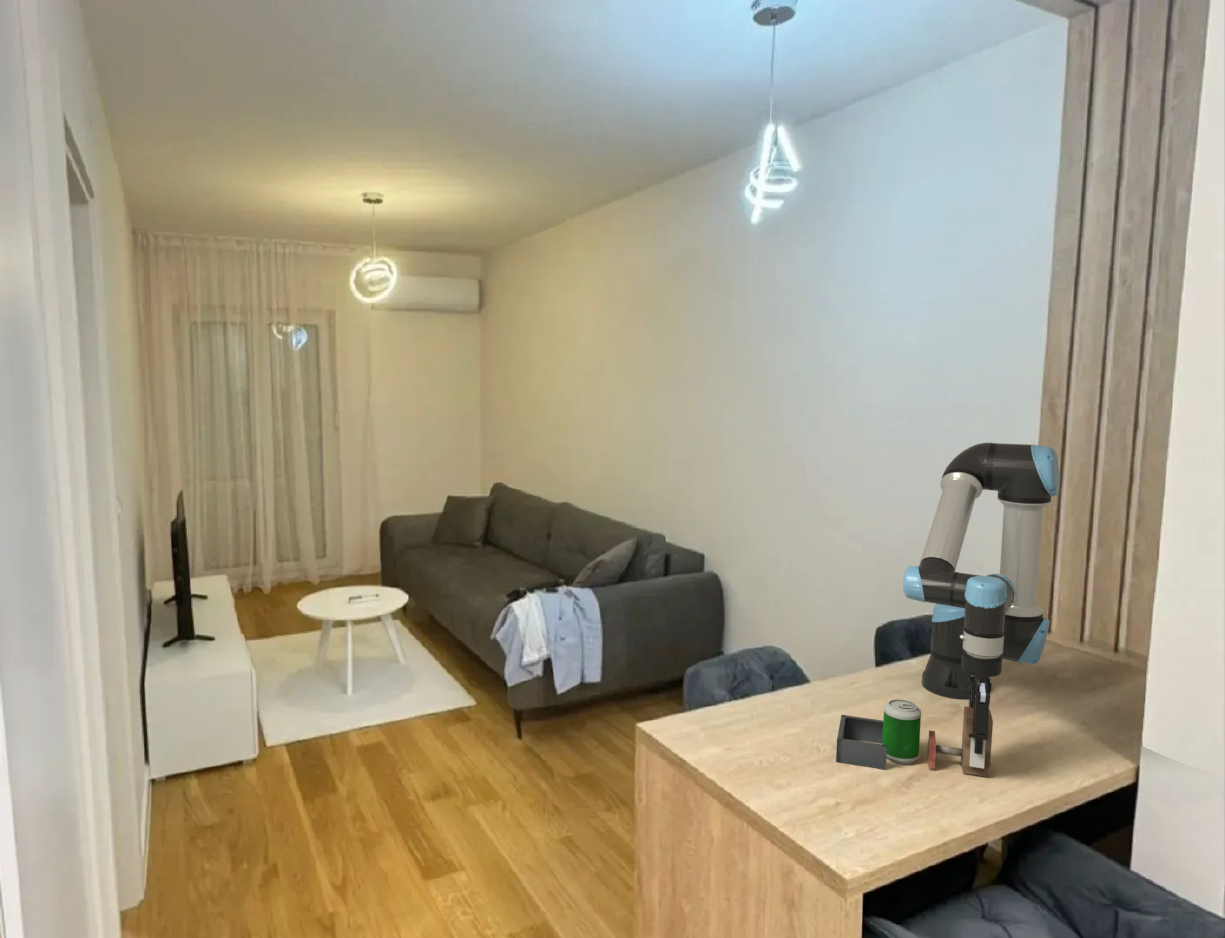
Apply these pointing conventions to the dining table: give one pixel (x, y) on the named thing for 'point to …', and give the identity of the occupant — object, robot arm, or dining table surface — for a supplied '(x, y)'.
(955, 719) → the dining table surface
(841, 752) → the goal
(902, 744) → the soda can
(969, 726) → the striker
